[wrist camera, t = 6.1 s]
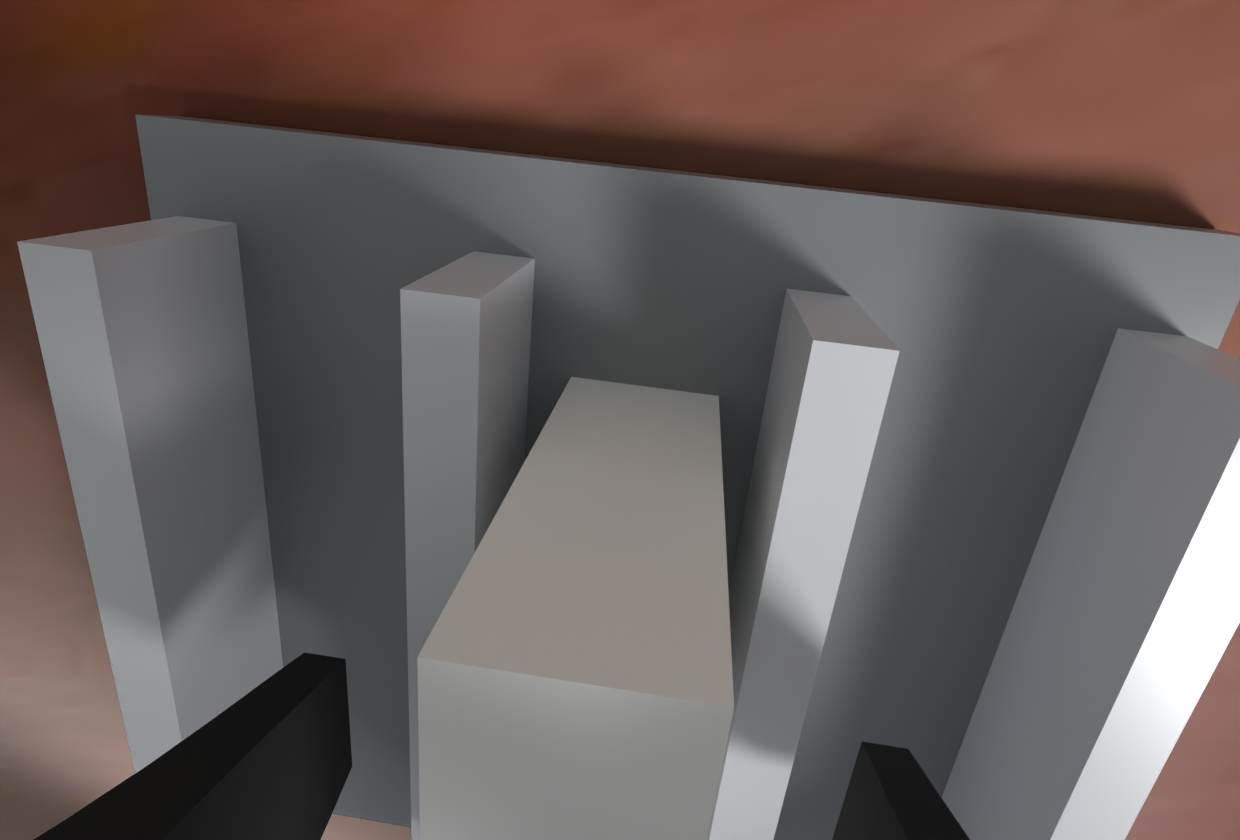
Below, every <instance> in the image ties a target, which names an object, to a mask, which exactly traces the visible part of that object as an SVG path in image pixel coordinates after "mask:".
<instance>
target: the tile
mask: <svg viewBox="0 0 1240 840" xmlns="http://www.w3.org/2000/svg"><path fill="white" fill-rule="evenodd" d="M417 667H418V738H419V808H420V840H707V836H708V832H709V827H710V822H711V817H712V812H713V807H714V803H715V798H716V793H717V788H718V783H719V778H720V774H721V769H722V764H723V759H724V754H725V749H726V745H727V740H728V735H729V730H730V725H731V720H732V716H733V711H734V693H733V673H732V653H731V633H730V612H729V592H728V572H727V552H726V532H725V512H724V492H723V472H722V452H721V431H720V411H719V396H715V395H708V394H700V393H692V392H685V391H677V390H669V389H662V388H654V387H646V386H638V385H631V384H623V383H615V382H608V381H600V380H592V379H585V378H577V377H571V378H570V380H569V382H568V384H567V385H566V387H565V389H564V391H563V393H562V395H561V396H560V398H559V400H558V402H557V404H556V406H555V407H554V409H553V411H552V413H551V415H550V416H549V418H548V420H547V422H546V424H545V426H544V427H543V429H542V431H541V433H540V435H539V436H538V438H537V440H536V442H535V444H534V446H533V447H532V449H531V451H530V453H529V455H528V457H527V458H526V460H525V462H524V464H523V466H522V467H521V469H520V471H519V473H518V475H517V477H516V478H515V480H514V482H513V484H512V486H511V487H510V489H509V491H508V493H507V495H506V497H505V498H504V500H503V502H502V504H501V506H500V508H499V509H498V511H497V513H496V515H495V517H494V518H493V520H492V522H491V524H490V526H489V528H488V529H487V531H486V533H485V535H484V537H483V539H482V540H481V542H480V544H479V546H478V548H477V549H476V551H475V553H474V555H473V557H472V559H471V560H470V562H469V564H468V566H467V568H466V569H465V571H464V573H463V575H462V577H461V579H460V580H459V582H458V584H457V586H456V588H455V590H454V591H453V593H452V595H451V597H450V599H449V600H448V602H447V604H446V606H445V608H444V610H443V611H442V613H441V615H440V617H439V619H438V620H437V622H436V624H435V626H434V628H433V630H432V631H431V633H430V635H429V637H428V639H427V641H426V642H425V644H424V646H423V648H422V650H421V651H420V653H419V655H418V657H417Z"/></svg>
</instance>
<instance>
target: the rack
mask: <svg viewBox="0 0 1240 840" xmlns="http://www.w3.org/2000/svg"><path fill="white" fill-rule="evenodd" d="M135 117H136V123H137V130H138V137H139V143H140V150H141V157H142V163H143V170H144V177H145V184H146V190H147V197H148V204H149V210H150V217H151V220H150V221H144V222H137V223H131V224H125V225H118V226H112V227H106V228H100V229H93V230H87V231H81V232H74V233H68V234H62V235H56V236H49V237H43V238H37V239H30V240H24V241H18V242H17V244H18V248H19V253H20V257H21V262H22V266H23V271H24V275H25V280H26V284H27V289H28V293H29V298H30V302H31V307H32V311H33V316H34V320H35V325H36V329H37V334H38V338H39V343H40V347H41V352H42V356H43V361H44V365H45V370H46V374H47V379H48V383H49V388H50V392H51V397H52V401H53V406H54V410H55V415H56V419H57V424H58V428H59V433H60V437H61V442H62V446H63V451H64V455H65V460H66V464H67V469H68V473H69V478H70V482H71V486H72V491H73V495H74V500H75V504H76V509H77V513H78V518H79V522H80V527H81V531H82V536H83V540H84V545H85V549H86V554H87V558H88V563H89V567H90V572H91V576H92V581H93V585H94V590H95V594H96V599H97V603H98V608H99V612H100V617H101V621H102V626H103V630H104V635H105V639H106V644H107V648H108V653H109V657H110V662H111V666H112V671H113V675H114V680H115V684H116V689H117V693H118V698H119V702H120V707H121V711H122V716H123V720H124V725H125V729H126V734H127V738H128V743H129V747H130V752H131V756H132V761H133V765H134V770H135V774H136V773H137V772H139V771H140V770H141V769H143V768H144V767H146V766H147V765H149V764H150V763H152V762H153V761H154V760H156V759H157V758H159V757H160V756H161V755H163V754H164V753H166V752H167V751H169V750H170V749H171V748H173V747H174V746H176V745H177V744H178V743H180V742H181V741H183V740H184V739H185V738H187V737H188V736H190V735H191V734H193V733H194V732H195V731H197V730H198V729H200V728H201V727H202V726H204V725H205V724H207V723H208V722H209V721H211V720H212V719H213V718H215V717H216V716H218V715H219V714H220V713H222V712H223V711H224V710H226V709H227V708H229V707H230V706H231V705H233V704H234V703H235V702H237V701H238V700H239V699H241V698H242V697H244V696H245V695H246V694H248V693H249V692H250V691H252V690H253V689H254V688H256V687H257V686H258V685H260V684H261V683H263V682H264V681H265V680H267V679H268V678H269V677H271V676H272V675H274V674H275V673H276V672H278V671H279V670H280V669H282V668H283V667H285V666H286V665H287V664H289V663H290V662H292V661H293V660H294V659H296V658H297V657H299V656H300V655H302V654H303V653H304V652H305V653H311V654H317V655H324V656H330V657H336V658H342V659H346V673H347V689H348V705H349V721H350V737H351V753H352V768H351V770H350V773H349V775H348V777H347V780H346V782H345V785H344V787H343V789H342V792H341V794H340V796H339V799H338V801H337V803H336V806H335V808H334V810H333V812H332V814H338V815H344V816H350V817H355V818H361V819H367V820H372V821H378V822H384V823H390V824H395V825H401V826H407V827H411V837H412V840H420V808H419V738H418V667H417V657H418V655H419V653H420V651H421V650H422V648H423V646H424V644H425V642H426V641H427V639H428V637H429V635H430V633H431V631H432V630H433V628H434V626H435V624H436V622H437V620H438V619H439V617H440V615H441V613H442V611H443V610H444V608H445V606H446V604H447V602H448V600H449V599H450V597H451V595H452V593H453V591H454V590H455V588H456V586H457V584H458V582H459V580H460V579H461V577H462V575H463V573H464V571H465V569H466V568H467V566H468V564H469V562H470V560H471V559H472V557H473V555H474V553H475V551H476V549H477V548H478V546H479V544H480V542H481V540H482V539H483V537H484V535H485V533H486V531H487V529H488V528H489V526H490V524H491V522H492V520H493V518H494V517H495V515H496V513H497V511H498V509H499V508H500V506H501V504H502V502H503V500H504V498H505V497H506V495H507V493H508V491H509V489H510V487H511V486H512V484H513V482H514V480H515V478H516V477H517V475H518V473H519V471H520V469H521V467H522V466H523V464H524V462H525V460H526V458H527V457H528V455H529V453H530V451H531V449H532V447H533V446H534V444H535V442H536V440H537V438H538V436H539V435H540V433H541V431H542V429H543V427H544V426H545V424H546V422H547V420H548V418H549V416H550V415H551V413H552V411H553V409H554V407H555V406H556V404H557V402H558V400H559V398H560V396H561V395H562V393H563V391H564V389H565V387H566V385H567V384H568V382H569V380H570V378H571V377H577V378H585V379H592V380H600V381H608V382H615V383H623V384H631V385H638V386H646V387H654V388H662V389H669V390H677V391H685V392H692V393H700V394H708V395H715V396H719V411H720V431H721V452H722V472H723V492H724V512H725V532H726V552H727V572H728V592H729V612H730V633H731V653H732V673H733V693H734V711H733V716H732V720H731V725H730V730H729V735H728V740H727V745H726V749H725V754H724V759H723V764H722V769H721V774H720V778H719V783H718V788H717V793H716V798H715V803H714V807H713V812H712V817H711V822H710V827H709V832H708V836H707V840H832V838H833V835H834V831H835V828H836V825H837V822H838V818H839V815H840V812H841V808H842V805H843V802H844V799H845V795H846V792H847V789H848V785H849V782H850V779H851V775H852V772H853V769H854V766H855V762H856V759H857V756H858V752H859V749H860V746H861V743H862V741H863V742H869V743H875V744H881V745H888V746H894V747H900V748H907V749H909V751H910V752H911V753H912V755H913V756H914V758H915V759H916V761H917V762H918V763H919V765H920V766H921V768H922V769H923V771H924V772H925V774H926V775H927V777H928V778H929V780H930V781H931V783H932V784H933V786H934V787H935V789H936V790H937V792H938V793H939V795H940V796H941V797H942V799H943V800H944V802H945V803H946V805H947V806H948V808H949V809H950V811H951V812H952V814H953V815H954V817H955V818H956V820H957V821H958V823H959V824H960V825H961V827H962V828H963V830H964V831H965V833H966V834H967V836H968V837H969V839H970V840H1125V838H1126V836H1127V834H1128V832H1129V830H1130V828H1131V827H1132V825H1133V823H1134V821H1135V819H1136V817H1137V815H1138V813H1139V811H1140V810H1141V808H1142V806H1143V804H1144V802H1145V800H1146V798H1147V796H1148V794H1149V793H1150V791H1151V789H1152V787H1153V785H1154V783H1155V781H1156V779H1157V777H1158V776H1159V774H1160V772H1161V770H1162V768H1163V766H1164V764H1165V762H1166V760H1167V759H1168V757H1169V755H1170V753H1171V751H1172V749H1173V747H1174V745H1175V743H1176V742H1177V740H1178V738H1179V736H1180V734H1181V732H1182V730H1183V728H1184V726H1185V725H1186V723H1187V721H1188V719H1189V717H1190V715H1191V713H1192V711H1193V709H1194V708H1195V706H1196V704H1197V702H1198V700H1199V698H1200V696H1201V694H1202V692H1203V691H1204V689H1205V687H1206V685H1207V683H1208V681H1209V679H1210V677H1211V675H1212V674H1213V672H1214V670H1215V668H1216V666H1217V664H1218V662H1219V660H1220V658H1221V657H1222V655H1223V653H1224V651H1225V649H1226V647H1227V645H1228V643H1229V641H1230V640H1231V638H1232V636H1233V634H1234V632H1235V630H1236V628H1237V626H1238V624H1239V622H1240V359H1239V358H1237V357H1235V356H1232V355H1230V354H1228V353H1225V352H1223V351H1220V350H1218V347H1219V345H1220V343H1221V340H1222V338H1223V336H1224V334H1225V331H1226V329H1227V327H1228V324H1229V322H1230V320H1231V318H1232V315H1233V313H1234V311H1235V308H1236V306H1237V304H1238V301H1239V299H1240V234H1238V233H1233V232H1227V231H1222V230H1215V229H1206V228H1197V227H1188V226H1179V225H1170V224H1160V223H1151V222H1142V221H1133V220H1124V219H1115V218H1106V217H1097V216H1087V215H1078V214H1069V213H1060V212H1051V211H1042V210H1033V209H1024V208H1015V207H1005V206H996V205H987V204H978V203H969V202H960V201H951V200H942V199H932V198H923V197H914V196H905V195H896V194H887V193H878V192H869V191H859V190H850V189H841V188H832V187H823V186H814V185H805V184H796V183H786V182H777V181H768V180H759V179H750V178H741V177H732V176H723V175H713V174H704V173H695V172H686V171H677V170H668V169H659V168H650V167H641V166H631V165H622V164H613V163H604V162H595V161H586V160H577V159H568V158H558V157H549V156H540V155H531V154H522V153H513V152H504V151H495V150H485V149H476V148H467V147H458V146H449V145H440V144H431V143H422V142H412V141H403V140H394V139H385V138H376V137H367V136H358V135H349V134H340V133H330V132H321V131H312V130H303V129H294V128H285V127H276V126H267V125H257V124H248V123H239V122H230V121H221V120H212V119H203V118H194V117H184V116H168V115H135Z"/></svg>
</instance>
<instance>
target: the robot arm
mask: <svg viewBox="0 0 1240 840" xmlns="http://www.w3.org/2000/svg"><path fill="white" fill-rule="evenodd" d="M351 768H352V753H351V737H350V721H349V705H348V689H347V673H346V659H342V658H336V657H330V656H324V655H317V654H311V653H305V652H304V653H303V654H302V655H300V656H299V657H297V658H296V659H294V660H293V661H292V662H290V663H289V664H287V665H286V666H285V667H283V668H282V669H280V670H279V671H278V672H276V673H275V674H274V675H272V676H271V677H269V678H268V679H267V680H265V681H264V682H263V683H261V684H260V685H258V686H257V687H256V688H254V689H253V690H252V691H250V692H249V693H248V694H246V695H245V696H244V697H242V698H241V699H239V700H238V701H237V702H235V703H234V704H233V705H231V706H230V707H229V708H227V709H226V710H224V711H223V712H222V713H220V714H219V715H218V716H216V717H215V718H213V719H212V720H211V721H209V722H208V723H207V724H205V725H204V726H202V727H201V728H200V729H198V730H197V731H195V732H194V733H193V734H191V735H190V736H188V737H187V738H185V739H184V740H183V741H181V742H180V743H178V744H177V745H176V746H174V747H173V748H171V749H170V750H169V751H167V752H166V753H164V754H163V755H161V756H160V757H159V758H157V759H156V760H154V761H153V762H152V763H150V764H149V765H147V766H146V767H144V768H143V769H141V770H140V771H139V772H137V773H136V774H134V775H133V776H131V777H130V778H128V779H126V780H125V781H123V782H122V783H120V784H119V785H117V786H116V787H114V788H113V789H111V790H110V791H108V792H107V793H105V794H104V795H102V796H101V797H99V798H98V799H96V800H95V801H93V802H92V803H90V804H89V805H87V806H86V807H84V808H83V809H81V810H80V811H78V812H77V813H75V814H73V815H72V816H70V817H69V818H67V819H66V820H64V821H63V822H61V823H60V824H58V825H56V826H55V827H53V828H52V829H50V830H48V831H47V832H45V833H44V834H42V835H40V836H39V837H37V838H35V839H34V840H320V839H321V837H322V835H323V832H324V830H325V828H326V826H327V824H328V821H329V819H330V817H331V815H332V812H333V810H334V808H335V806H336V803H337V801H338V799H339V796H340V794H341V792H342V789H343V787H344V785H345V782H346V780H347V777H348V775H349V773H350V770H351ZM832 840H970V839H969V837H968V836H967V834H966V833H965V831H964V830H963V828H962V827H961V825H960V824H959V823H958V821H957V820H956V818H955V817H954V815H953V814H952V812H951V811H950V809H949V808H948V806H947V805H946V803H945V802H944V800H943V799H942V797H941V796H940V795H939V793H938V792H937V790H936V789H935V787H934V786H933V784H932V783H931V781H930V780H929V778H928V777H927V775H926V774H925V772H924V771H923V769H922V768H921V766H920V765H919V763H918V762H917V761H916V759H915V758H914V756H913V755H912V753H911V752H910V751H909V749H907V748H900V747H894V746H888V745H881V744H875V743H869V742H863V741H862V743H861V746H860V749H859V752H858V756H857V759H856V762H855V766H854V769H853V772H852V775H851V779H850V782H849V785H848V789H847V792H846V795H845V799H844V802H843V805H842V808H841V812H840V815H839V818H838V822H837V825H836V828H835V831H834V835H833V838H832Z"/></svg>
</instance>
